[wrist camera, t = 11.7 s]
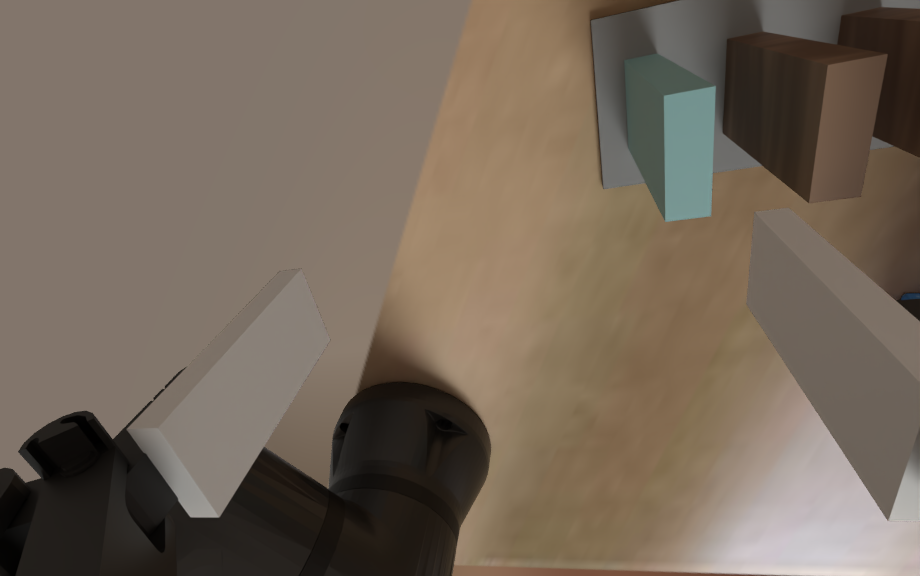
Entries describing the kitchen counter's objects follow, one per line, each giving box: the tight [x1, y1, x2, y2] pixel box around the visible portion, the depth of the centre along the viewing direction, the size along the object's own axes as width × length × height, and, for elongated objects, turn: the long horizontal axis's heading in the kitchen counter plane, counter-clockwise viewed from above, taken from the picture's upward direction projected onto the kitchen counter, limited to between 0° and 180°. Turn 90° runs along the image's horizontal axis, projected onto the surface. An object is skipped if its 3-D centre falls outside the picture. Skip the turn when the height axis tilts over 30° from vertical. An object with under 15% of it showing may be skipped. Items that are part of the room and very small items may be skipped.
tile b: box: [723, 31, 888, 203], centre depth 23 cm, size 2×5×12 cm, turn 12°
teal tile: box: [624, 54, 716, 222], centre depth 25 cm, size 2×5×12 cm, turn 13°
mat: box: [591, 0, 920, 189], centre depth 27 cm, size 27×10×1 cm, turn 102°
